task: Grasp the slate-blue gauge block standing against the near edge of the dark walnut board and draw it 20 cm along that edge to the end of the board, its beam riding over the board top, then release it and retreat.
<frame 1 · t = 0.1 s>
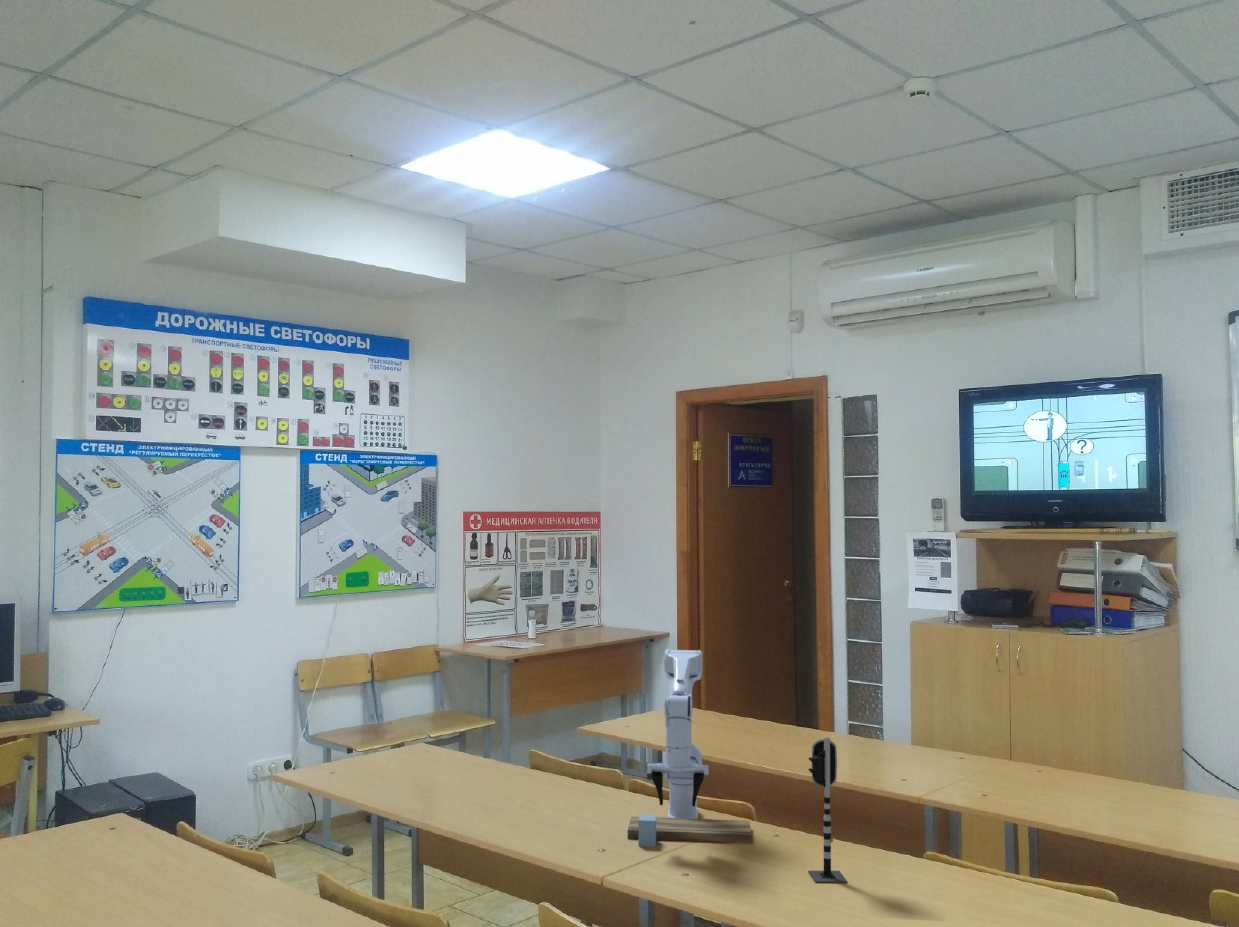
hand: (677, 804, 238), 10 cm above the table, fingers open, 7 cm apart
board: (689, 833, 249), on the table
miniature traffic light: (825, 878, 218), on the table
gauge: (647, 843, 241), on the table
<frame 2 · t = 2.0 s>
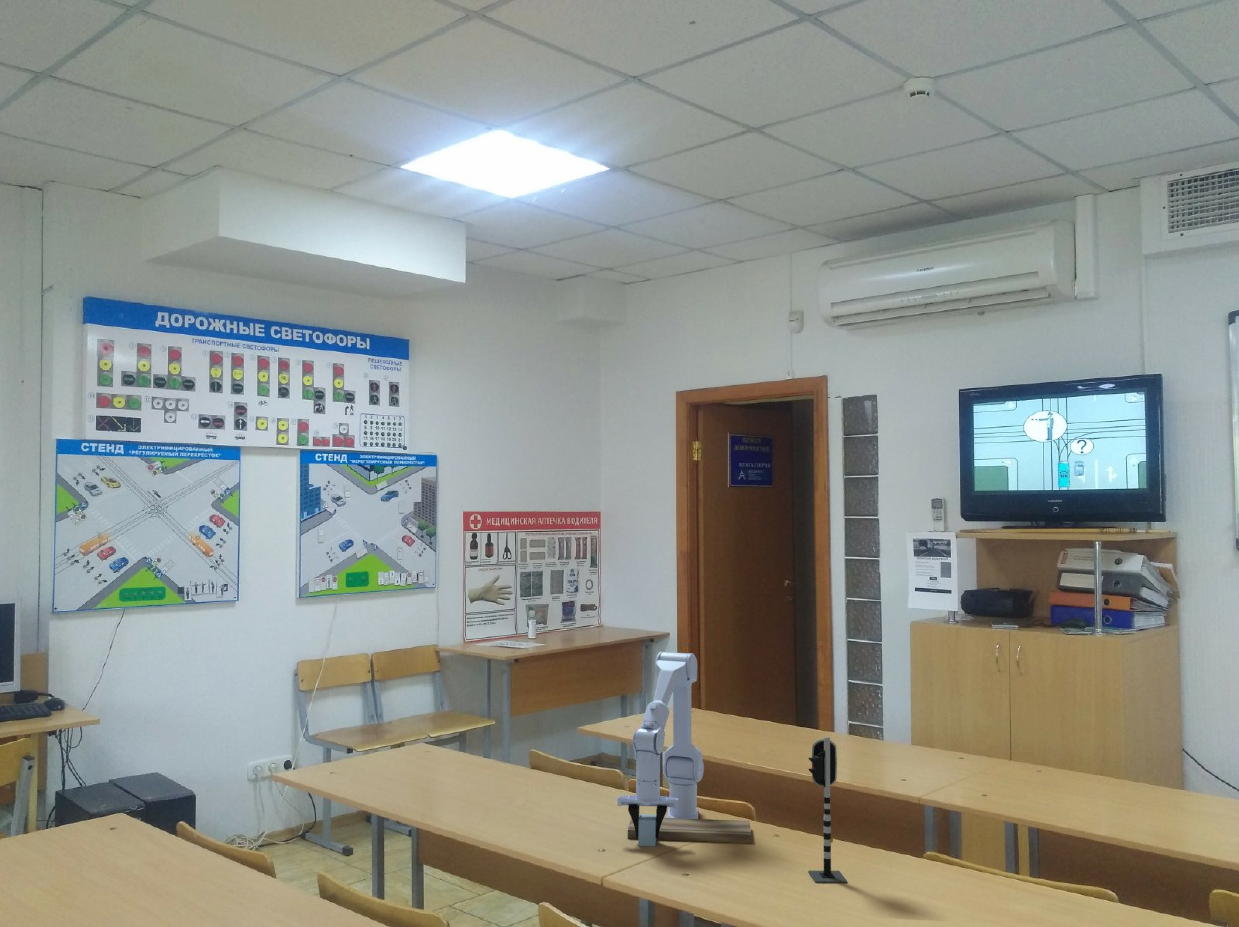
hand: (647, 836, 241), 1 cm above the table, fingers closed on gauge, 4 cm apart
gauge: (647, 842, 241), on the table, touching gripper
everything else where it was.
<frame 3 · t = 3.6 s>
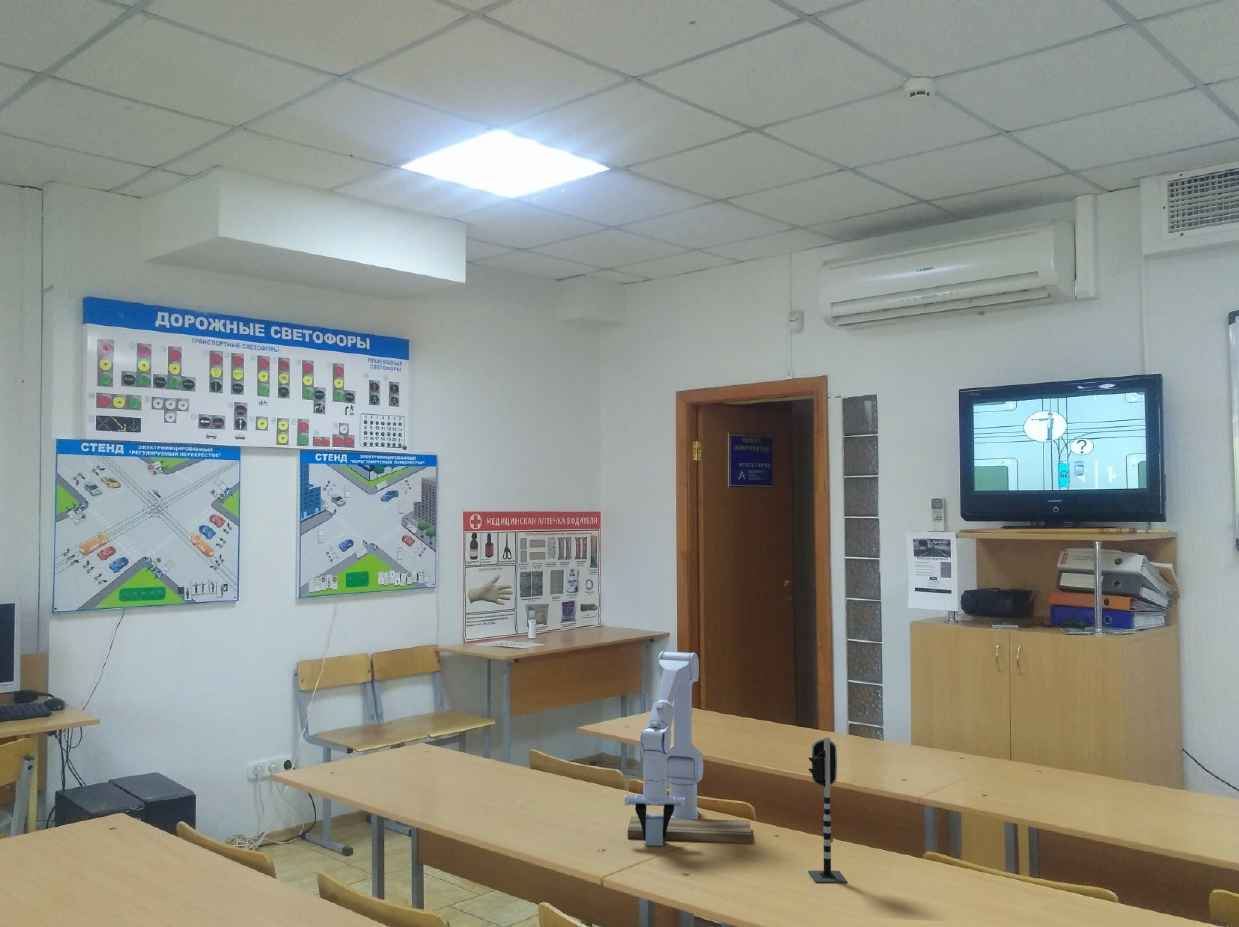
hand: (654, 836, 241), 2 cm above the table, fingers closed on gauge, 4 cm apart
gauge: (654, 842, 241), on the table, touching gripper
everything else where it was.
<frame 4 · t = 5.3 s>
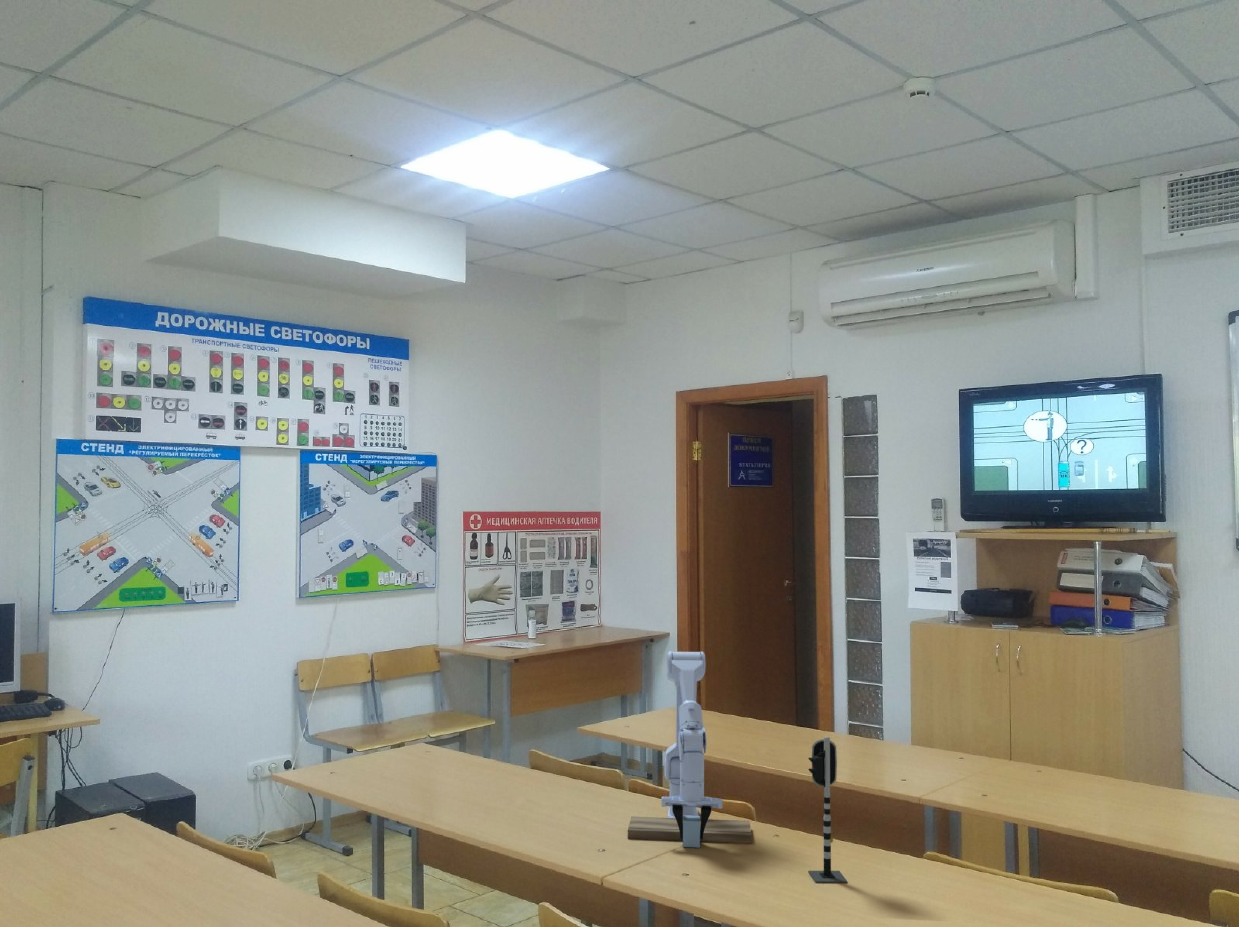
hand: (691, 837, 240), 2 cm above the table, fingers closed on gauge, 4 cm apart
gauge: (691, 844, 240), on the table, touching gripper
everything else where it was.
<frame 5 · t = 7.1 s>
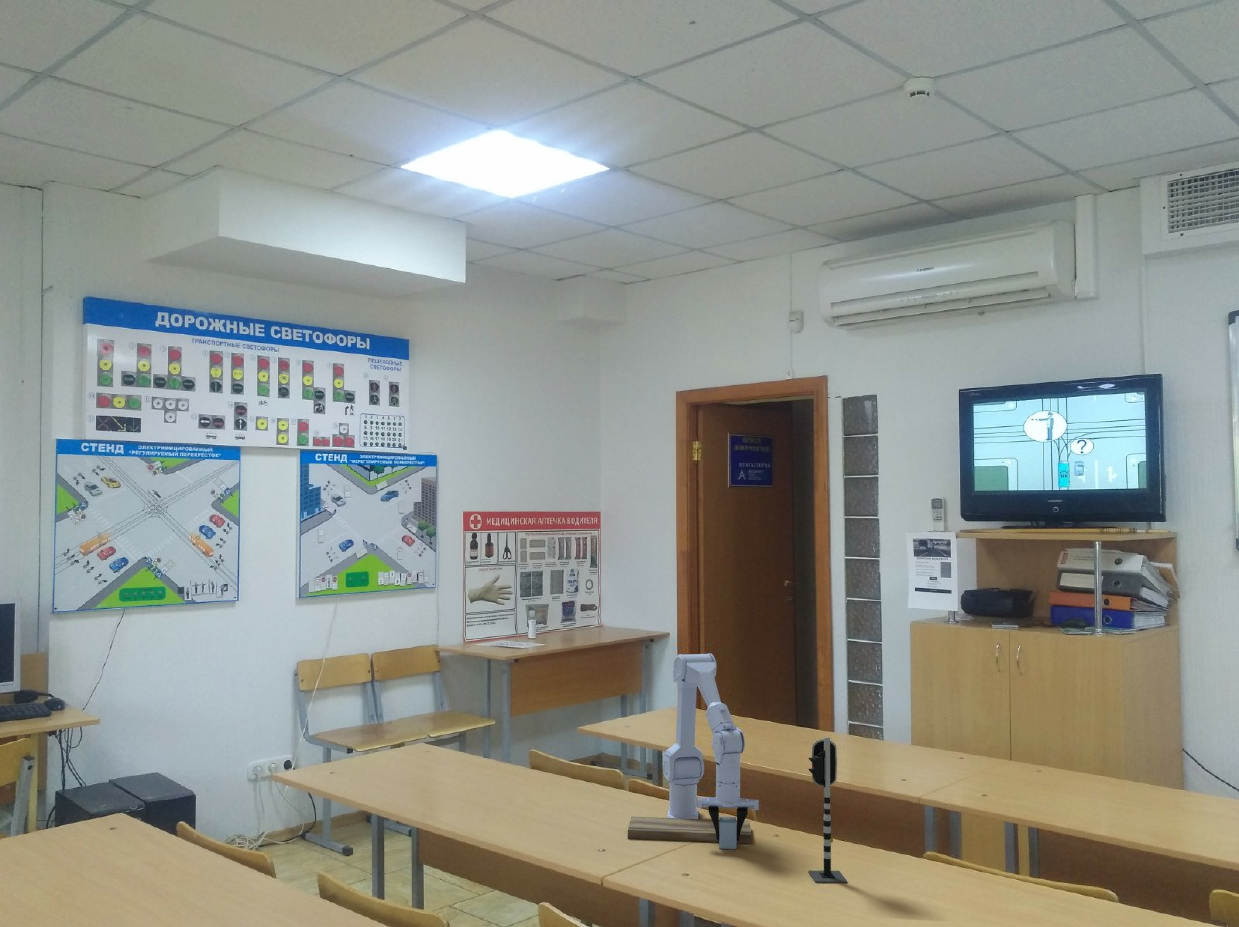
hand: (727, 839, 239), 2 cm above the table, fingers closed on gauge, 4 cm apart
gauge: (727, 845, 239), on the table, touching gripper
everything else where it was.
when the fingers open (2 cm above the table, at t = 8.7 s): gauge stays where it is, on the table.
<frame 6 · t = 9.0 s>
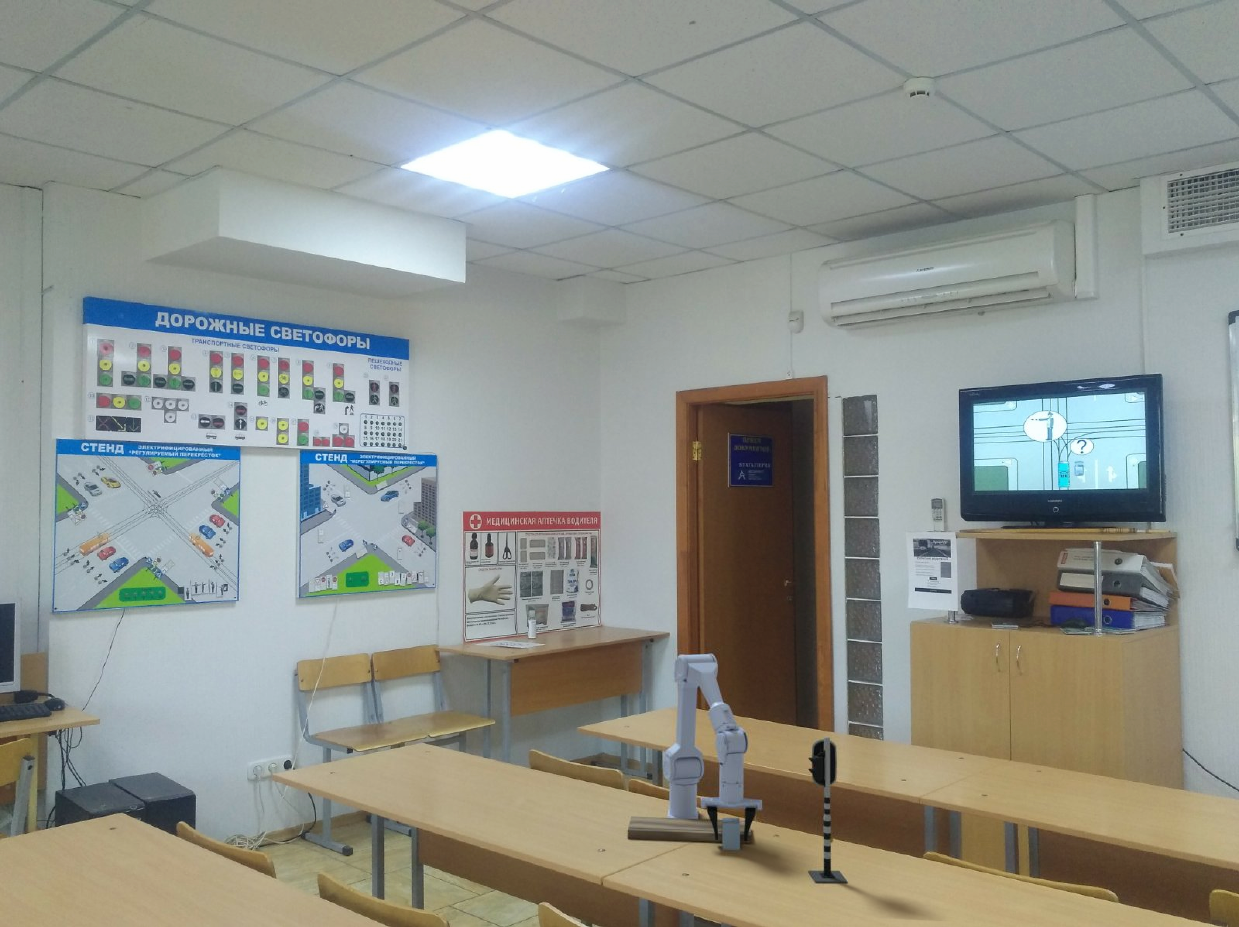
hand: (731, 839, 239), 2 cm above the table, fingers open, 6 cm apart
gauge: (731, 846, 239), on the table
everything else where it was.
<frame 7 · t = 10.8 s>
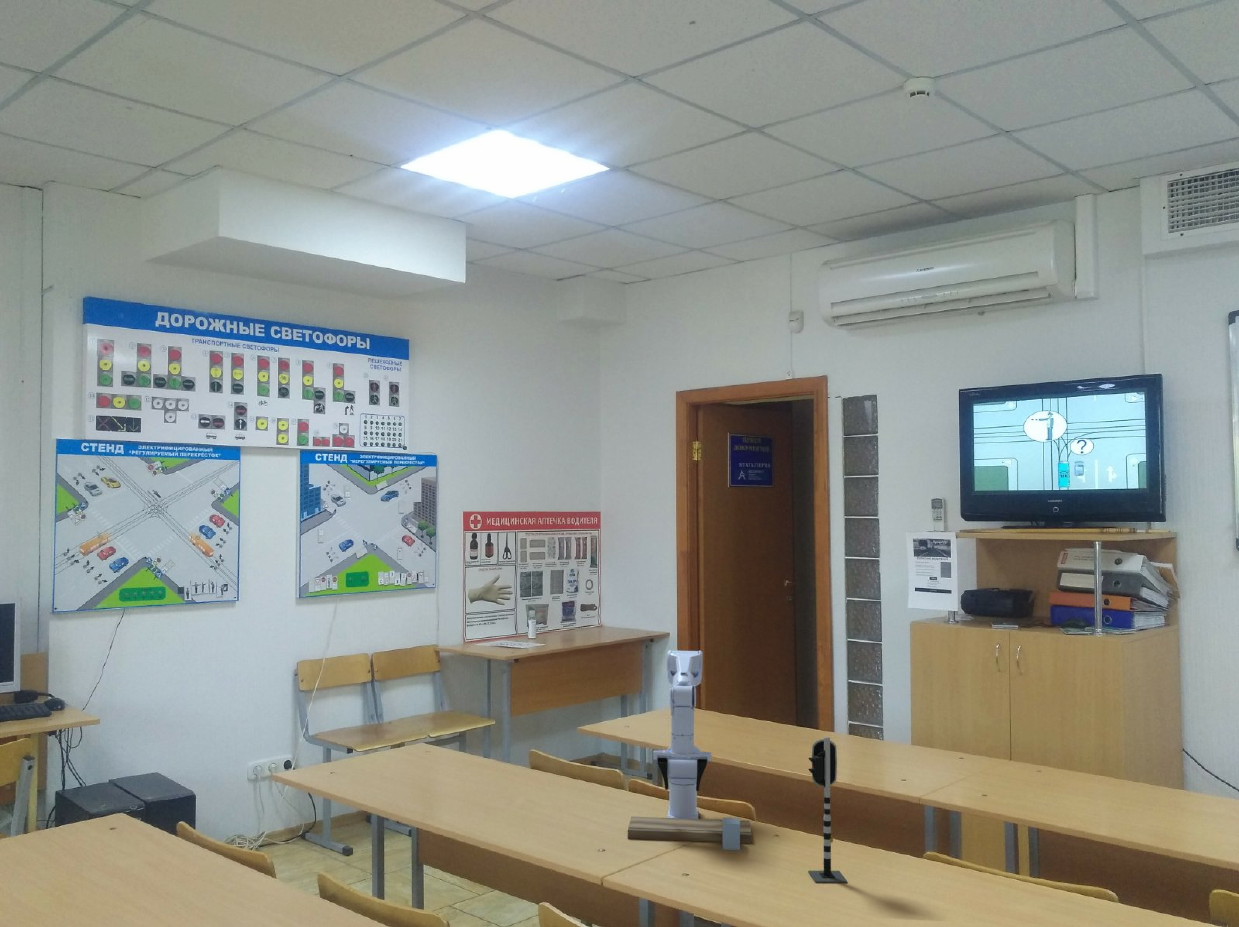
hand: (682, 789, 251), 10 cm above the table, fingers open, 7 cm apart
nothing on the table moved.
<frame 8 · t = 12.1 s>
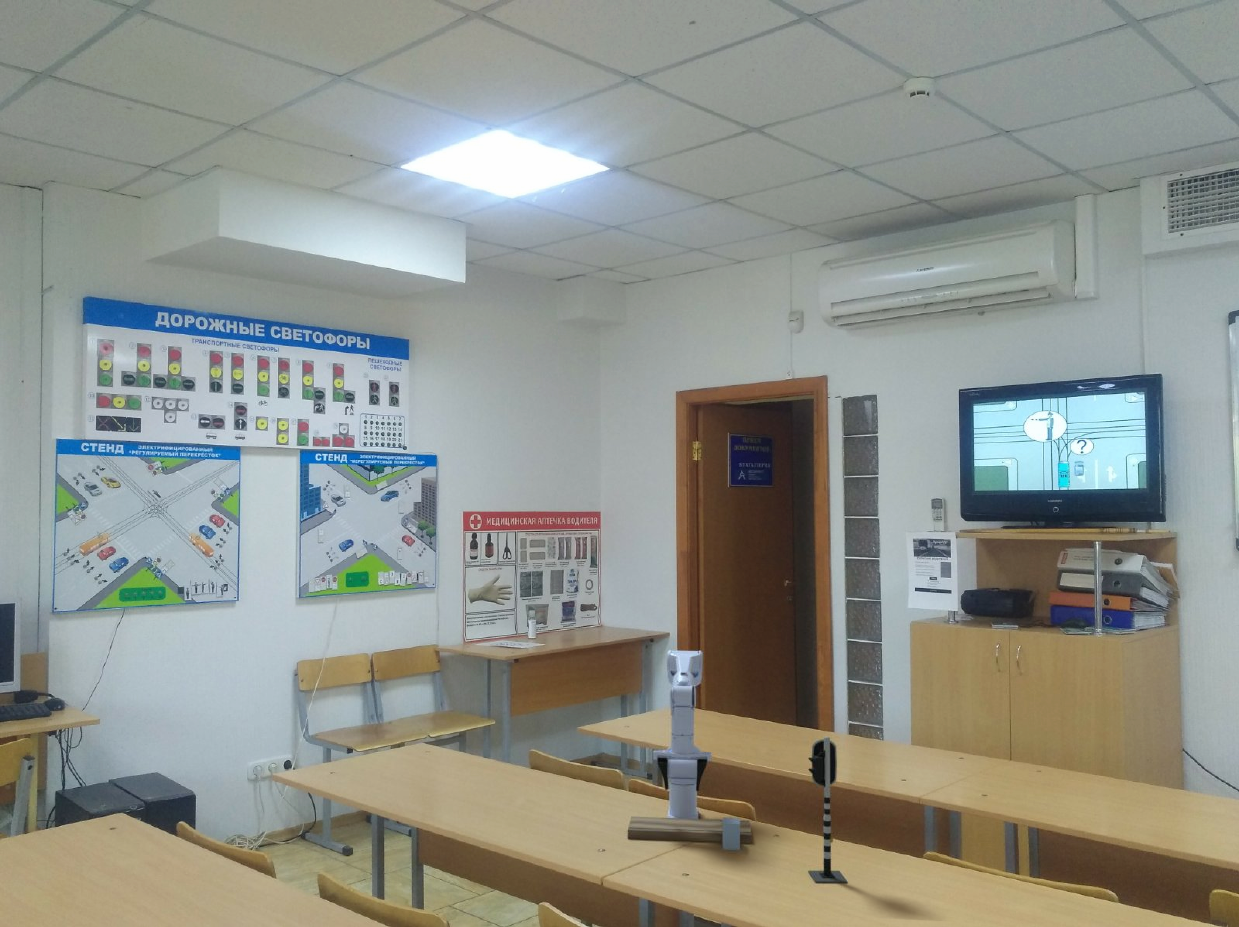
hand: (682, 789, 251), 10 cm above the table, fingers open, 7 cm apart
nothing on the table moved.
at the end: gauge 0.2 cm from the target spot, on the table; gauge moved 20.0 cm from its start; gauge tilted 0° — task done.
